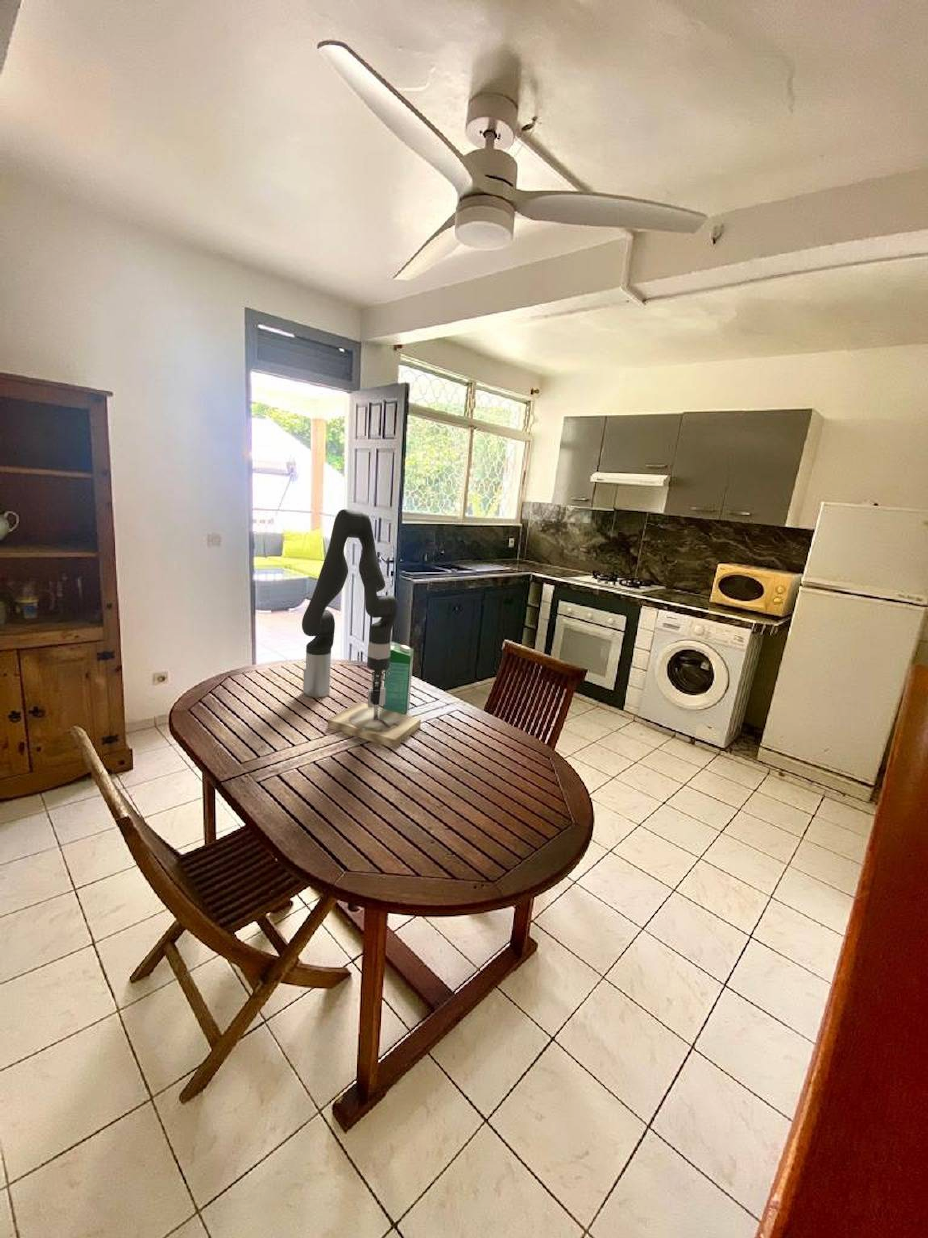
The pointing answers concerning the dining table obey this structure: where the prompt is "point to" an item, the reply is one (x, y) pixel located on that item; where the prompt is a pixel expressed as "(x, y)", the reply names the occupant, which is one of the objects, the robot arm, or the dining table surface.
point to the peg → (381, 702)
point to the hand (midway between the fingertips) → (376, 702)
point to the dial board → (374, 724)
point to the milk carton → (398, 678)
